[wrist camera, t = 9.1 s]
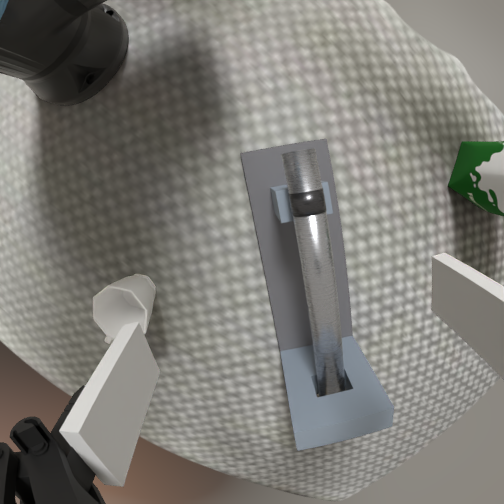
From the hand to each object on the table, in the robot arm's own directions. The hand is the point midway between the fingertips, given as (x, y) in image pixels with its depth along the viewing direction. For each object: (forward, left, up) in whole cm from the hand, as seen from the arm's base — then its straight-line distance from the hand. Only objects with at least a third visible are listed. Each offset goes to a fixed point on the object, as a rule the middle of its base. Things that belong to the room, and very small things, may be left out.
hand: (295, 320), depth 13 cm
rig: (+7, +7, -25) cm, 27 cm away
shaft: (+4, +6, -17) cm, 19 cm away
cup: (+12, -15, -26) cm, 32 cm away
